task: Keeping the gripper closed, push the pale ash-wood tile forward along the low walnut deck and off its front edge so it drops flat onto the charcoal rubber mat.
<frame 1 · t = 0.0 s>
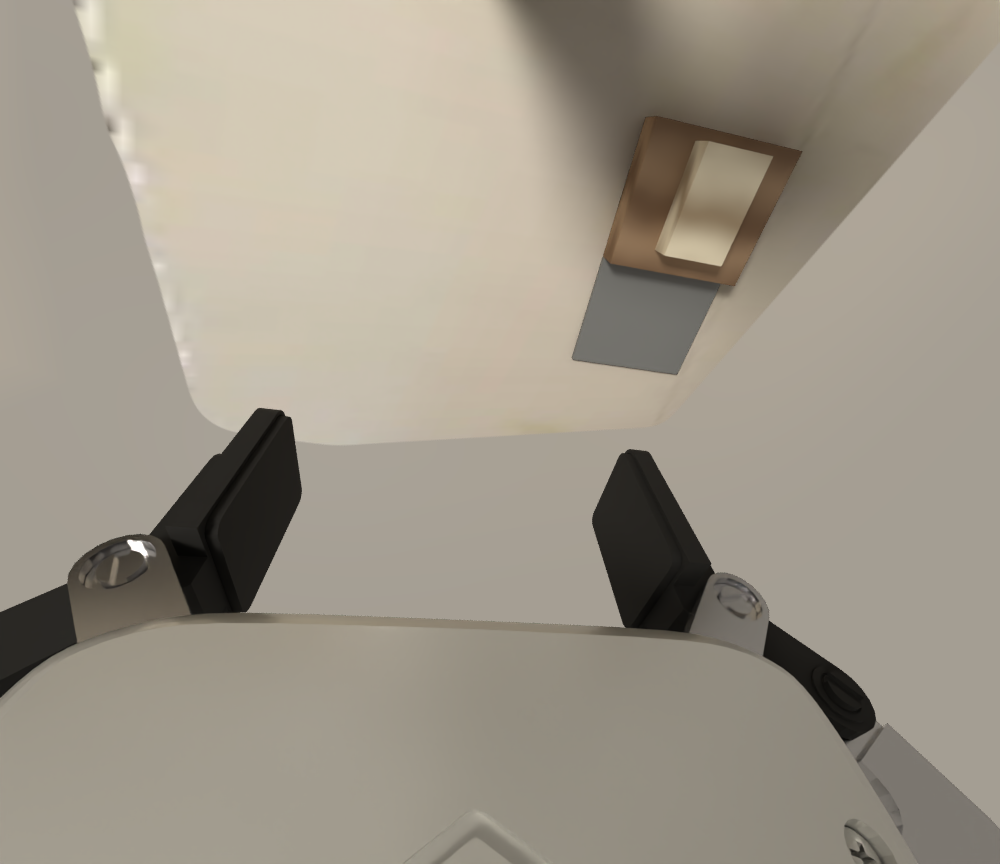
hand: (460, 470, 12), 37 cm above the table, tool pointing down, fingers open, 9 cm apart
deck: (687, 206, 41), on the table
mat: (642, 319, 48), on the table
tile: (709, 206, 38), point 4 cm above the table, touching deck
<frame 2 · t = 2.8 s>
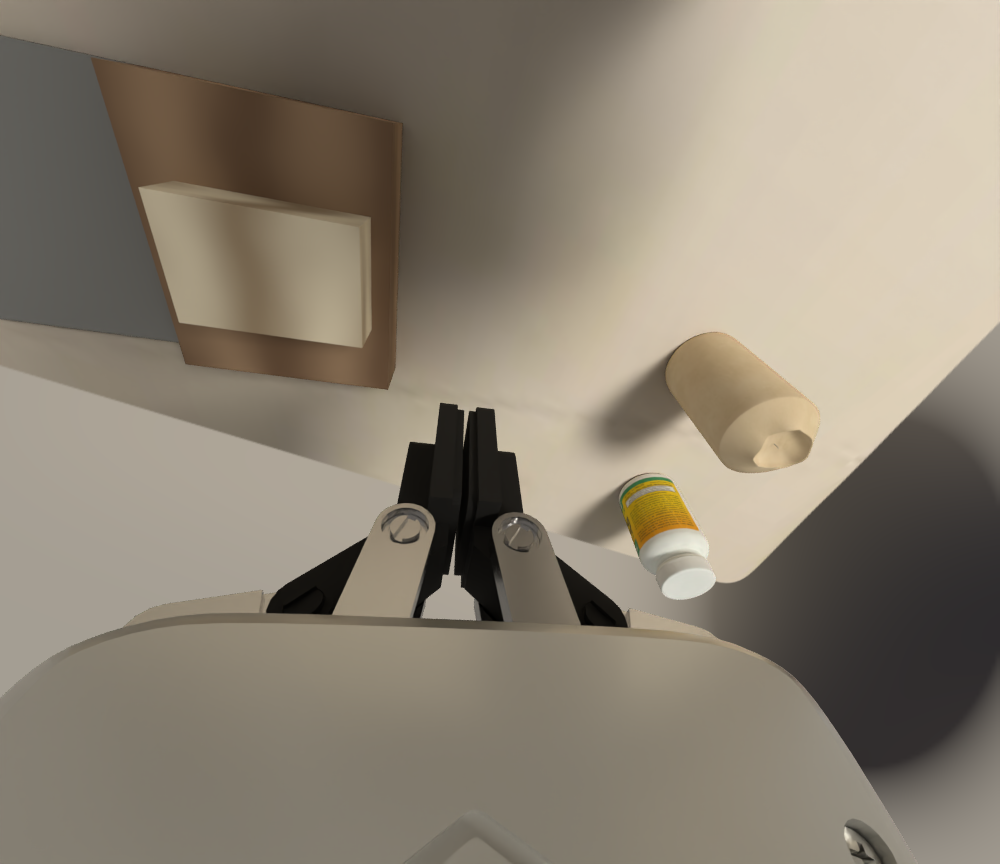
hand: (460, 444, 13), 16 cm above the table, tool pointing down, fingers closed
deck: (293, 248, 24), on the table
mat: (60, 208, 22), on the table
candle: (700, 365, 30), on the table
supplement bottle: (645, 490, 38), on the table
tile: (274, 270, 21), point 4 cm above the table, touching deck
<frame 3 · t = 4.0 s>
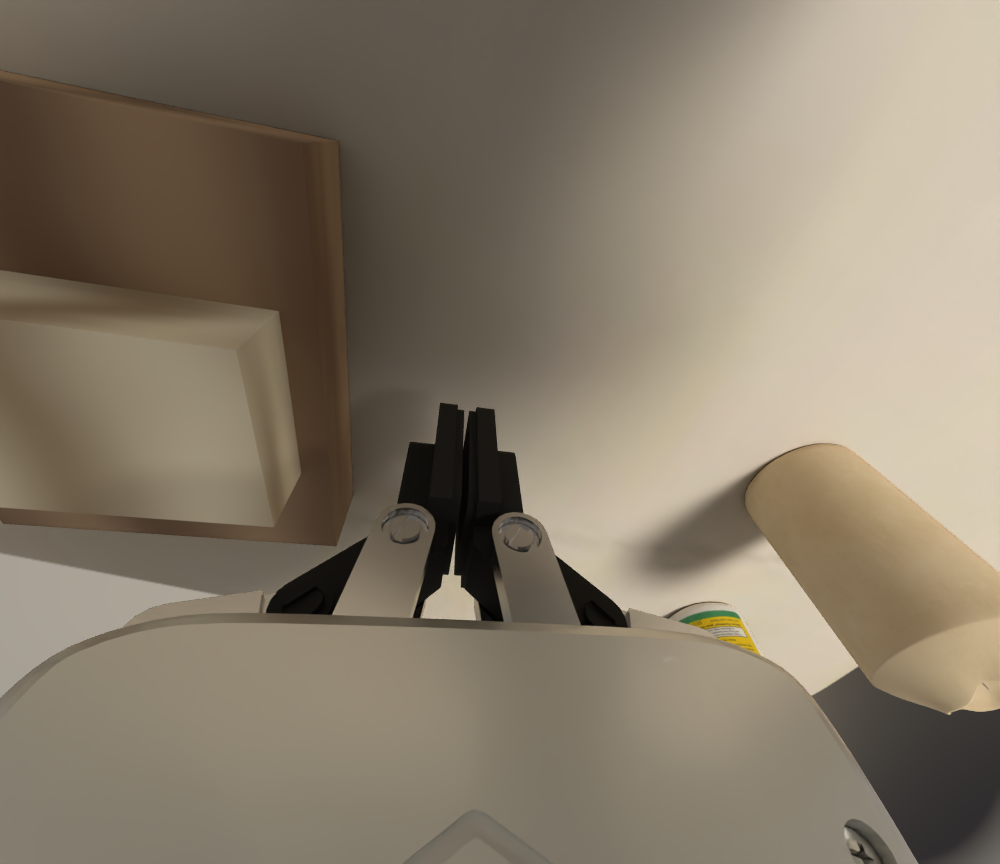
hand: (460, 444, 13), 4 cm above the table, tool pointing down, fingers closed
deck: (173, 341, 15), on the table
candle: (795, 481, 21), on the table
supplement bottle: (697, 618, 29), on the table
tile: (102, 407, 11), point 4 cm above the table, touching deck
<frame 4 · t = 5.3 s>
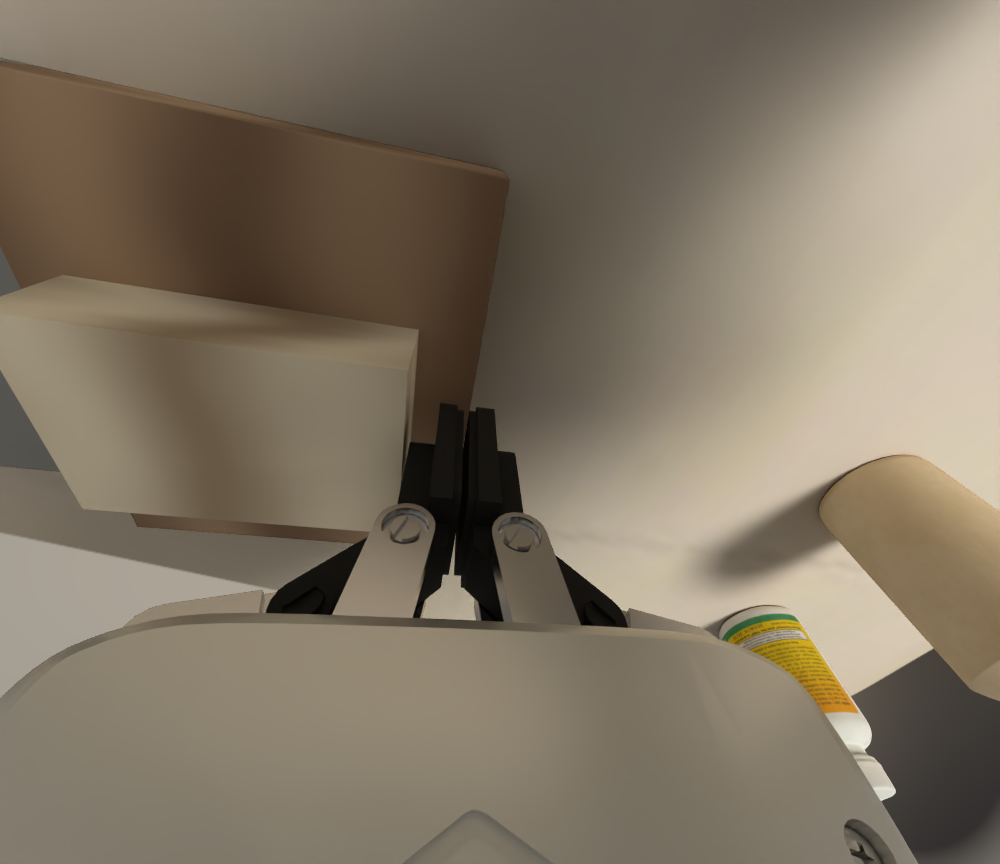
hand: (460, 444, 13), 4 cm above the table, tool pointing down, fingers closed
deck: (309, 353, 15), on the table
candle: (869, 490, 22), on the table
supplement bottle: (752, 620, 29), on the table
tile: (250, 419, 12), point 4 cm above the table, touching gripper
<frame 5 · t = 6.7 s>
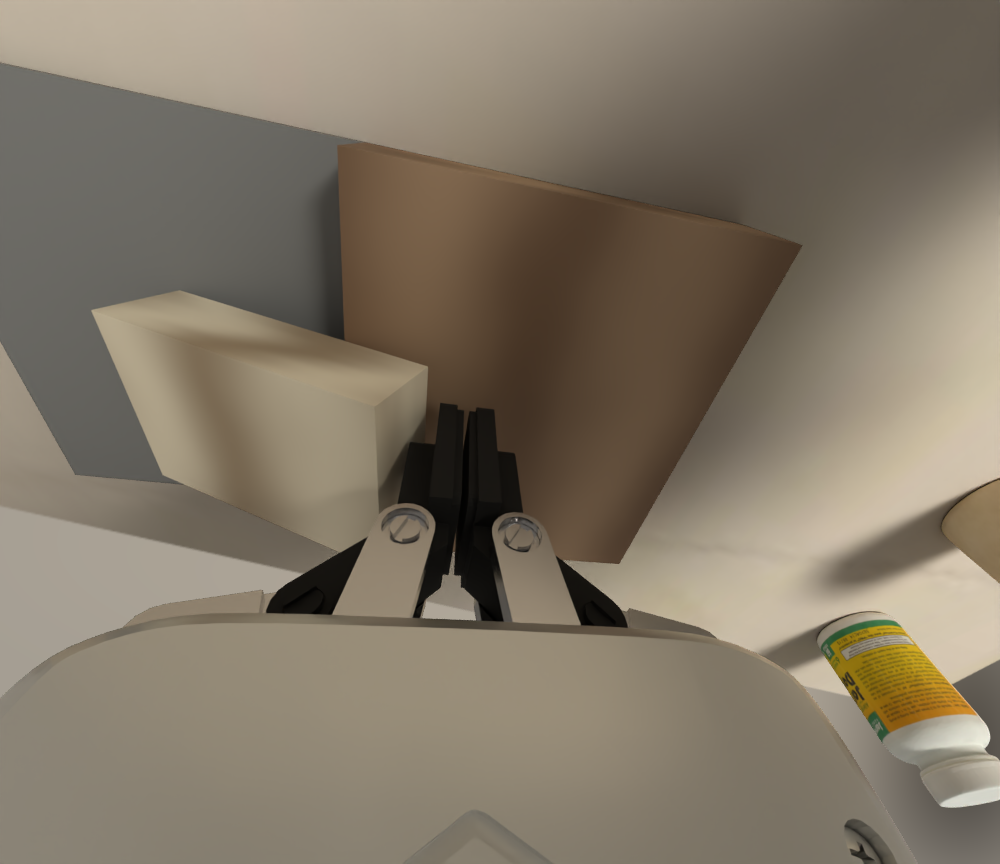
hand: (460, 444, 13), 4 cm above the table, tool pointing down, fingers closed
deck: (519, 384, 16), on the table
mat: (195, 339, 15), on the table
candle: (991, 504, 23), on the table
supplement bottle: (850, 626, 30), on the table
tile: (278, 427, 13), point 4 cm above the table, tilted 24°
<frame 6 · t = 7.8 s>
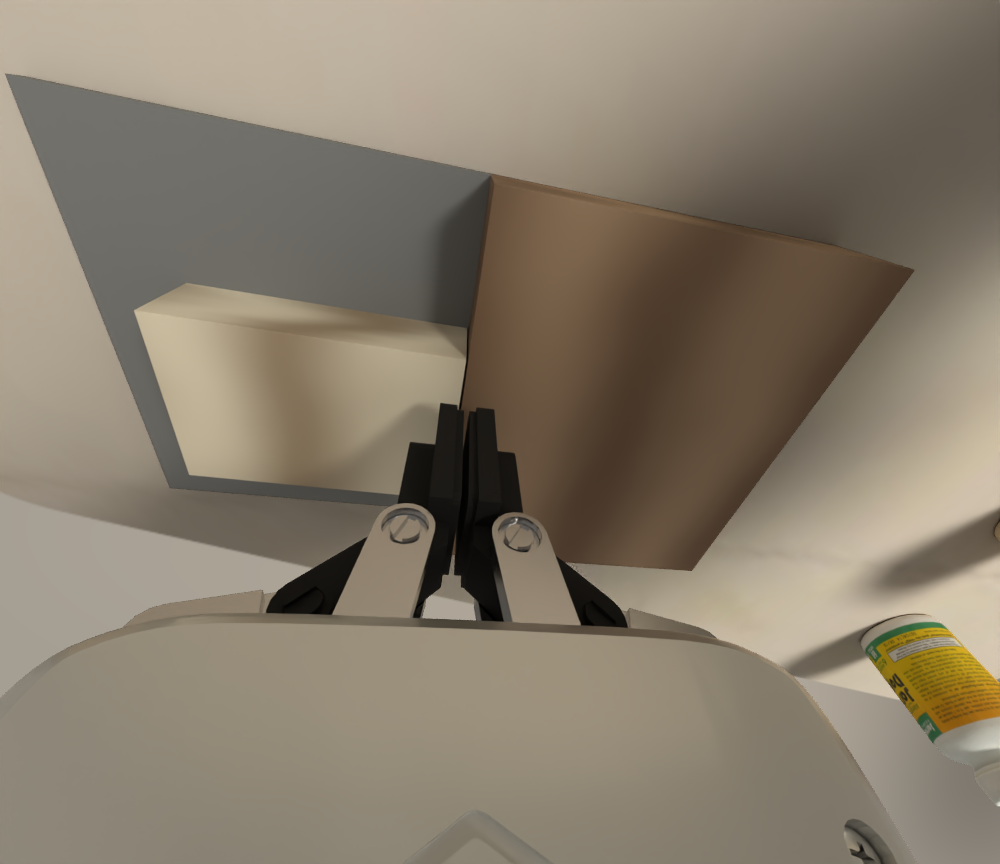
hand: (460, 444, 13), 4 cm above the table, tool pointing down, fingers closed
deck: (604, 398, 17), on the table
mat: (301, 358, 15), on the table
supplement bottle: (893, 628, 31), on the table
tile: (328, 401, 14), point 2 cm above the table, touching mat
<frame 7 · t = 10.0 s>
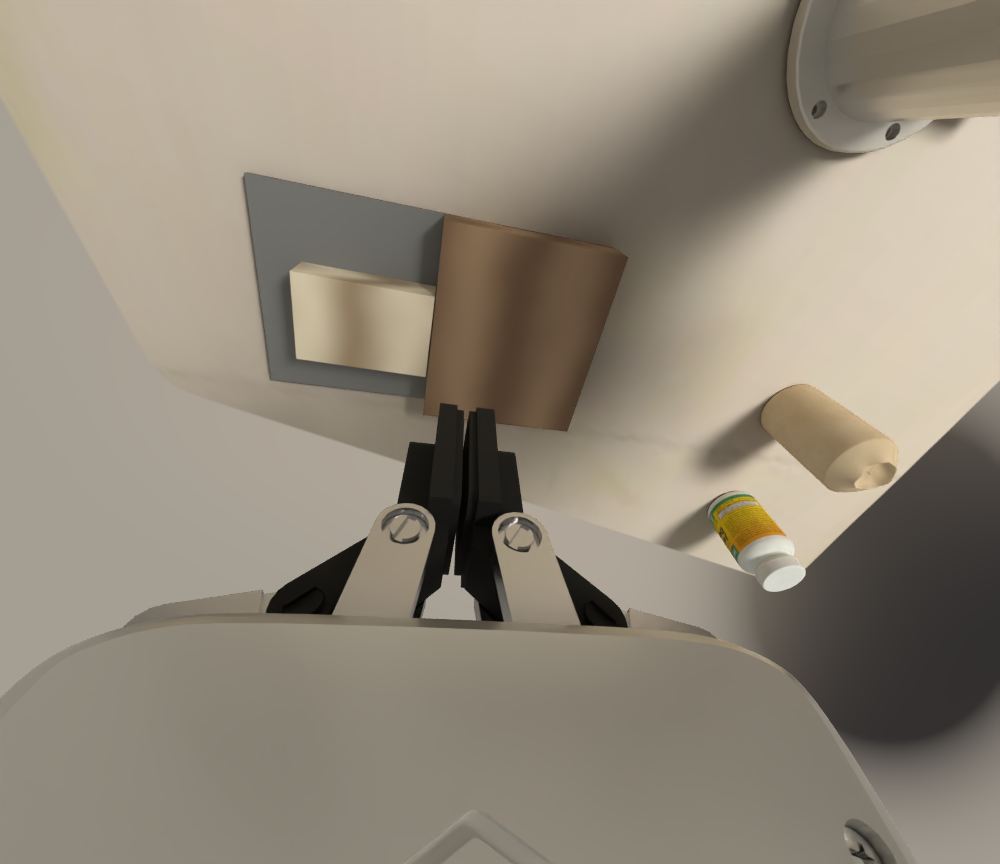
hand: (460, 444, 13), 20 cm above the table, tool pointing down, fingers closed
deck: (511, 328, 32), on the table
mat: (351, 302, 30), on the table
candle: (787, 407, 39), on the table
supplement bottle: (728, 505, 46), on the table
tile: (366, 322, 29), point 2 cm above the table, touching mat
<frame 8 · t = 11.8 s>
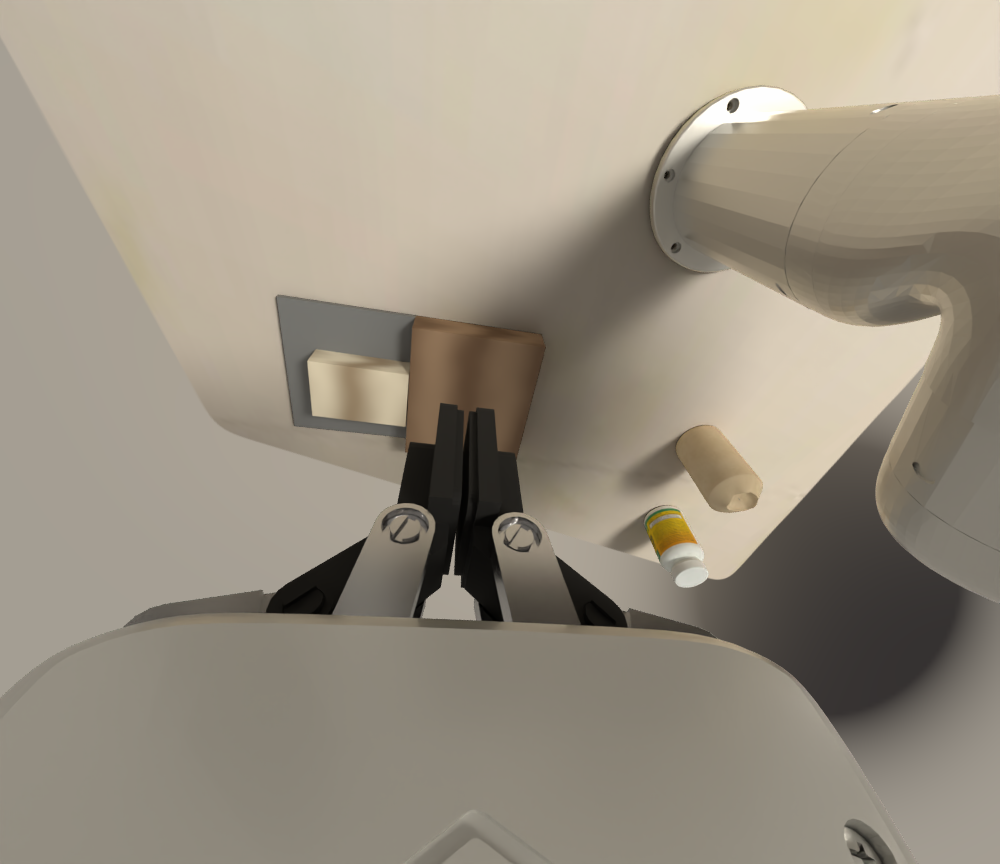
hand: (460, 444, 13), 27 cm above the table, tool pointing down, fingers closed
deck: (470, 388, 43), on the table
mat: (351, 373, 41), on the table
candle: (697, 442, 49), on the table
supplement bottle: (661, 516, 57), on the table
tile: (362, 389, 40), point 2 cm above the table, touching mat
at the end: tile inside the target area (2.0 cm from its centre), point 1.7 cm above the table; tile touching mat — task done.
